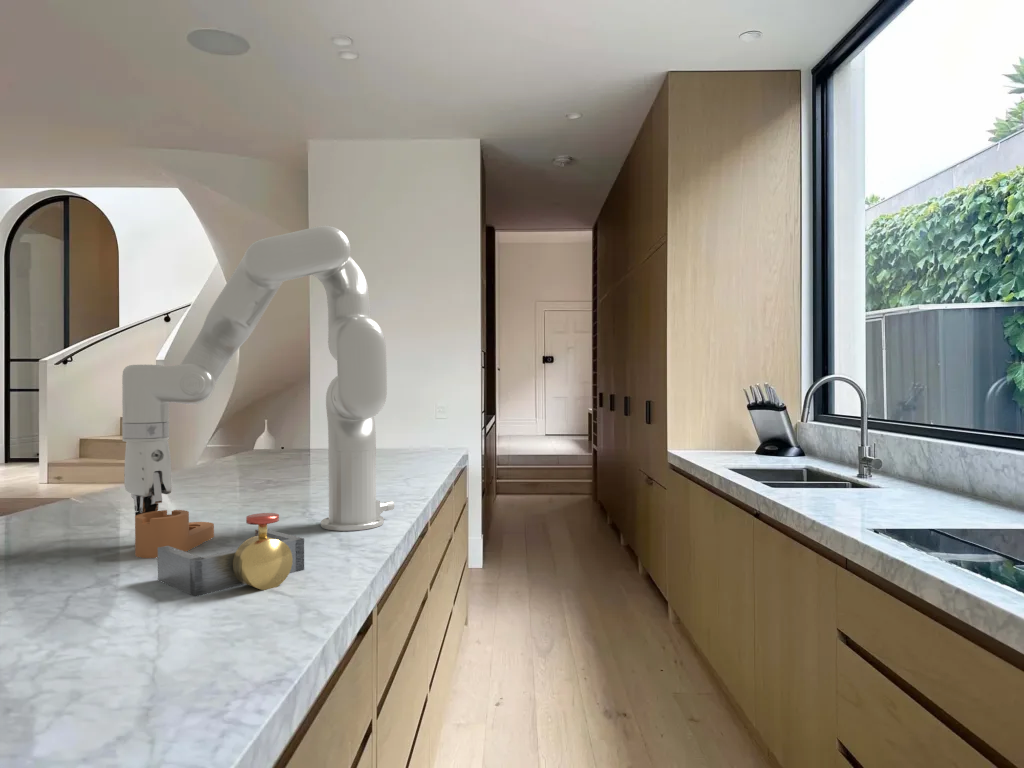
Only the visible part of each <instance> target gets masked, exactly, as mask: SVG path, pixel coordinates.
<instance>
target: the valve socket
mask: <svg viewBox="0 0 1024 768" xmlns="http://www.w3.org/2000/svg"><path fill="white" fill-rule="evenodd" d="M245 518H246V519H245V520H246V522H245V523H246V524H247V525H255V526H256V525H258V527H257V529H255V530H254V531H255V533H254V536H251V537H249V538H247V539H246V540H244V541H243V542H242V543H241V544H240V545H239V547H238V548H237V549H234V550H229V551H224V552H218V553H214V554H208V555H203V556H199V555H196V554H194V553H192V552H191V553H190V552H189V551H187V552H185V551H182V550H179V549H176V548H173V547H170V546H164V547H158V558H157V581H158V580H159V581H158V582H160V581H162V582H164V583H163V584H165V583H166V584H165V585H167V584H168V586H169V587H172V588H174V589H177V590H178V591H181V592H183V593H185V594H187V595H191V596H193V597H195V598H196V597H199V595H200V596H202V595H203V594H204V595H208V594H212V593H216V592H220V591H225V590H227V589H232V588H236V587H237V588H238V587H239V586H244V585H247V586H250V587H253V588H256V589H259V590H262V591H267V590H272V589H275V588H277V587H279V586H280V585H281V584H283V583H284V581H286V579H287V578H288V576H289V575H290V574H294V573H297V572H298V573H299V572H302V571H305V538H302V537H300V536H296V535H292V534H287V533H283V532H279V531H275V530H272V529H268V525H269V524H275V523H278V522H279V521H280V514H279V513H274V512H261V513H253V514H249V515H247V516H246V517H245ZM162 582H161V583H162ZM219 590H220V591H219ZM215 591H216V592H215ZM211 592H212V593H211ZM207 593H208V594H207ZM204 595H203V596H204Z"/></svg>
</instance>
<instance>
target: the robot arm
mask: <svg viewBox="0 0 1024 768" xmlns="http://www.w3.org/2000/svg"><path fill="white" fill-rule="evenodd" d="M308 276H314V278H316V279H317V280H318V281H319V282H321V284H322V286H323V287H324V289H325V293H326V300H327V301H326V302H327V310H328V311H327V318H328V319H327V324H328V325H327V327H328V331H327V333H328V334H327V336H328V338H327V344H328V351H329V352H330V354H331V356H332V358H333V359H335V361H336V364H337V366H336V367H337V368H336V369H337V373H336V374H337V376H335V377H334V378H333V379H332V380H331V382H330V383H329V385H328V387H327V388H326V389H327V390H326V393H325V394H326V395H325V408H326V419H327V432H328V433H327V438H328V440H327V441H328V447H327V448H328V456H327V457H328V459H327V461H328V462H327V464H328V467H327V468H328V469H327V471H328V517H325V518H323V519H321V522H320V527H321V528H322V529H324V530H327V531H328V530H329V531H337V532H353V531H365V530H370V529H371V530H372V529H375V528H378V527H380V526H382V525H384V524H385V523H384V522H385V520H384V519H385V518H384V517H383V516H381V514H383V512H388V511H393V510H395V503H394V501H392V500H390V501H384V502H381V500H377V466H376V465H377V463H376V462H377V460H376V459H377V454H376V453H377V452H376V451H377V450H376V449H377V439H376V438H377V435H376V423H375V416H376V415H378V414H379V413H380V412H381V411H382V409H383V408H384V406H385V404H386V400H387V394H388V392H387V391H388V380H387V379H388V378H387V377H388V374H387V372H388V371H387V370H388V369H387V344H386V339H385V334H384V332H383V329H382V327H381V326H380V325H379V324H378V323H377V321H375V320H374V319H372V318H371V315H372V313H371V303H370V292H369V286H368V281H367V278H366V277H365V274H364V272H363V271H362V269H361V268H360V266H359V265H358V263H357V262H355V260H354V259H353V258H352V256H351V243H350V241H349V238H348V236H347V235H346V234H345V233H344V232H343V231H342V230H340V229H339V228H337V227H335V226H331V225H319V226H314V227H310V228H305V229H301V230H296V231H293V232H289V233H284V234H279V235H273V236H269V237H266V238H262V239H261V238H260V239H258V240H257V241H254V242H253V243H251V244H250V245H249V246H248V248H247V249H246V251H245V253H244V255H243V257H242V258H241V260H240V261H239V263H238V265H237V266H236V267H235V270H234V271H233V273H232V274H231V276H230V278H229V279H228V281H227V282H226V284H225V286H224V287H223V288H222V290H221V292H220V293H219V295H218V296H217V298H216V300H215V301H214V303H213V304H212V306H211V308H210V309H209V310H208V313H207V315H206V317H205V320H204V323H203V325H202V327H201V329H200V330H199V332H198V335H197V336H196V338H195V340H194V341H193V344H192V345H191V347H190V348H189V349H188V352H187V353H186V355H185V356H184V357H183V359H182V361H181V362H180V364H177V365H161V364H129V365H127V366H125V367H124V369H123V371H122V375H121V376H122V377H121V378H122V379H121V380H122V386H121V388H122V391H121V392H122V394H121V395H122V397H121V398H122V401H121V402H122V403H121V407H122V414H121V415H122V423H121V424H122V426H121V427H122V430H121V431H122V433H121V435H122V436H121V437H122V442H126V443H125V453H124V468H123V469H124V470H123V471H124V472H123V474H124V478H123V479H124V482H123V483H124V489H125V491H126V492H127V493H129V494H130V495H131V498H132V499H133V505H134V507H133V508H134V517H135V516H136V515H138V514H142V513H146V512H152V511H159V504H162V503H163V497H162V496H163V495H170V494H171V493H172V491H173V473H172V458H171V451H170V443H169V440H170V403H174V404H175V403H176V404H182V405H183V404H184V405H198V404H201V403H204V402H205V401H207V400H209V398H210V397H211V396H212V394H213V393H214V391H215V387H216V384H217V382H218V381H219V380H220V378H221V376H222V374H223V373H224V371H225V370H226V368H227V367H228V365H229V364H230V362H231V360H232V359H233V357H234V356H235V354H236V353H237V352H238V350H239V349H240V347H242V345H243V344H244V343H246V341H247V340H248V339H249V337H250V336H251V335H252V333H253V332H254V330H255V328H256V327H257V325H258V324H259V322H260V321H261V318H262V317H263V315H264V314H265V312H266V310H267V309H268V307H269V305H270V303H271V302H272V300H273V299H274V297H275V295H276V294H277V292H278V291H279V289H280V287H281V286H282V285H283V282H286V281H287V282H288V281H290V280H296V279H299V278H300V279H301V278H304V277H308Z"/></svg>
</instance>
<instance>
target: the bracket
mask: <svg viewBox="0 0 1024 768" xmlns="http://www.w3.org/2000/svg"><path fill="white" fill-rule="evenodd" d="M213 537H214V538H215V523H213V522H209V521H208V522H207V521H191V522H190V512H189V511H188V510H184V509H173V510H171V514H168V510H167V509H163V510H162V509H161V510H158V511H152V512H146V513H142V514H138V515H136V516H135V515H134V539H135V540H134V543H135V544H134V552H135V553H134V556H135V557H137V558H140V557H141V558H140V559H142V558H143V559H158V547H164V546H170V547H173V548H176V549H179V550H182V551H185V552H186V551H187V552H189V551H191V550H193V549H195V548H197V547H199V546H201V545H203V544H204V543H203V542H205V541H207V540H209V539H211V538H213ZM214 538H213V539H214ZM211 540H212V539H211ZM209 541H210V540H209ZM207 542H208V541H207ZM202 543H203V544H202ZM205 543H206V542H205ZM200 544H201V545H200ZM198 545H199V546H198ZM196 546H197V547H196ZM194 547H195V548H194ZM192 548H193V549H192ZM190 549H191V550H190ZM188 550H189V551H188ZM156 557H157V558H156Z"/></svg>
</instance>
